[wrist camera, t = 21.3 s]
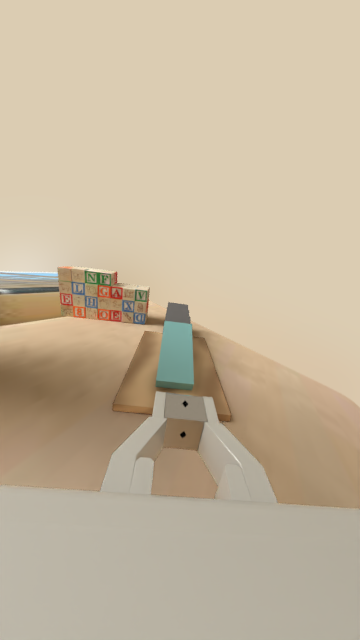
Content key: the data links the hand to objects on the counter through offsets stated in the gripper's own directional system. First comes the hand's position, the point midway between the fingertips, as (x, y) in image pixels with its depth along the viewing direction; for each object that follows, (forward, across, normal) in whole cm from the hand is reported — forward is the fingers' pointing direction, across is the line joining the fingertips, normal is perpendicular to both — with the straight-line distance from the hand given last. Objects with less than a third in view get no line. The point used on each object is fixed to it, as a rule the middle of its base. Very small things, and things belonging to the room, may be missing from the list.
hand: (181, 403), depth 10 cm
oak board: (+20, -1, +11) cm, 23 cm away
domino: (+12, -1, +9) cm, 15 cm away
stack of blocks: (+40, +18, +11) cm, 45 cm away
